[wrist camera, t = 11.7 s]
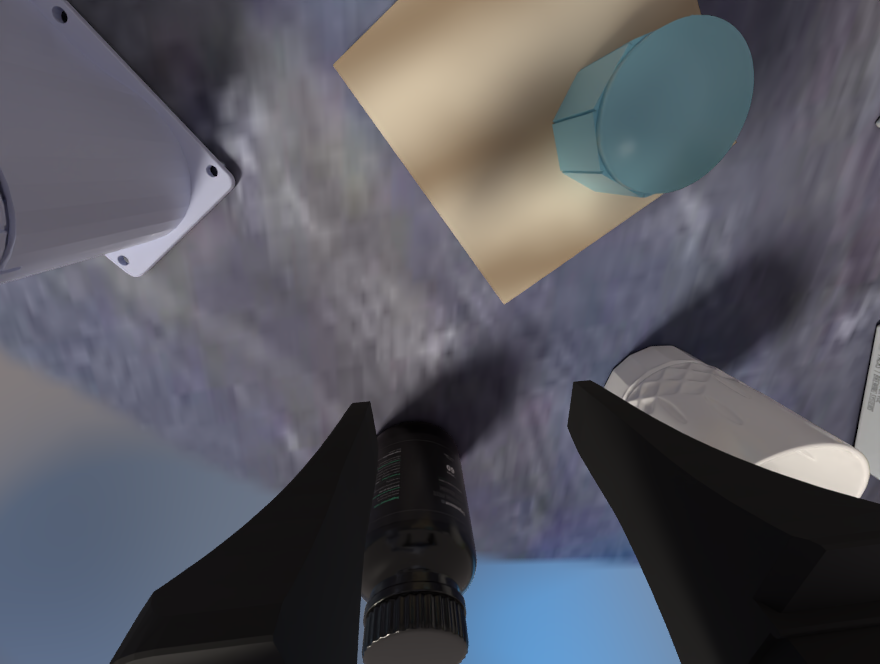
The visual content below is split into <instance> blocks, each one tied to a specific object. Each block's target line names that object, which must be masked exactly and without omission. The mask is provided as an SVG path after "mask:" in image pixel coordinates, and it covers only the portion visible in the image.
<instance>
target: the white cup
mask: <svg viewBox="0 0 880 664" xmlns="http://www.w3.org/2000/svg"><path fill="white" fill-rule="evenodd" d="M604 388H605V389H607V390H608V391H610V392H612V393H613V394H615V395H617V396H618V397H620V398H622V399H623V400H625V401H627V402H628V403H630V404H632V405H633V406H635V407H637V408H638V409H640V410H642V411H643V412H645V413H647V414H649V415H650V416H652V417H654V418H656V419H657V420H659V421H661V422H663V423H665V424H667V425H669V426H671V427H672V428H674V429H676V430H678V431H680V432H682V433H684V434H686V435H688V436H690V437H692V438H694V439H696V440H698V441H701V442H703V443H705V444H707V445H709V446H712V447H714V448H716V449H718V450H720V451H723V452H725V453H728V454H730V455H732V456H735V457H737V458H740V459H742V460H745V461H747V462H750V463H753V464H755V465H758V466H760V467H763V468H766V469H768V470H771V471H774V472H777V473H780V474H782V475H785V476H788V477H791V478H794V479H797V480H800V481H803V482H806V483H809V484H812V485H815V486H819V487H822V488H825V489H829V490H832V491H836V492H839V493H843V494H846V495H850V496H853V497H857V498H860V497H861V495H862V494H863V492H864V490H865V488H866V486H867V484H868V481H869V476H870V466H869V462H868V460H867V458H866V457H865V455H864V454H863V453H862V452H860V451H859V450H858V449H856V448H854V447H853V446H851V445H849V444H847V443H846V442H844V441H842V440H841V439H839V438H837V437H835V436H834V435H832V434H830V433H829V432H827V431H825V430H823V429H822V428H820V427H818V426H817V425H815V424H813V423H812V422H810V421H808V420H806V419H805V418H803V417H801V416H800V415H798V414H796V413H795V412H793V411H791V410H790V409H788V408H786V407H784V406H783V405H781V404H779V403H778V402H776V401H774V400H773V399H771V398H769V397H768V396H766V395H764V394H763V393H761V392H759V391H757V390H755V389H752V388H751V387H749V386H747V385H746V384H744V383H743V382H741V381H739V380H737V379H736V378H734V377H732V376H729V375H728V374H726V373H724V372H723V371H721V370H720V369H718V368H716V367H714V366H710V365H707V364H705V363H704V362H702V361H700V360H699V359H697V358H696V357H694V356H692V355H691V354H689V353H687V352H685V351H683V350H681V349H678V348H676V347H674V346H650V347H648V348H645V349H643V350H641V351H638V352H636V353H634V354H631V355H629V356H628V357H627V358H626V359H625V360H624V361H623V362H621V363H620V364H619V365H618V366H617V367H616V368H615V369H614V370H613V371H612V373H611V375H610V377H609V379H608V381H607V383H606V385H605V386H604Z"/></svg>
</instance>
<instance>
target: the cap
mask: <svg viewBox="0 0 880 664" xmlns="http://www.w3.org/2000/svg"><path fill="white" fill-rule="evenodd" d="M753 88H754V68H753V60H752V56H751V53H750V50H749V47H748V45H747V43H746V41H745V39H744V38H743V36H742V35H741V33H740V32H739V31H738V30H737V29H736V28H735V27H734V26H733V25H731V24H730V23H729V22H727V21H726V20H723V19H721V18H718V17H715V16H710V15H691V16H687V17H683V18H681V19H678V20H675V21H673V22H671V23H669V24H667V25H665V26H663V27H661V28H659V29H657V30H655V31H653V32H650V33H648V34H645V35H643V36H641V37H638V38H636V39H633V40H631V41H630V42H628V43H626V44H624V45H623V46H621V47H619V48H617V49H616V50H614V51H612V52H611V53H609V54H607V55H605V56H604V57H602V58H600V59H598V60H597V61H595V62H593V63H591V64H590V65H588V66H586V67H584V68H583V69H581V70H580V71H579V72H578V73H577V75H576V77H575V79H574V81H573V82H572V84H571V86H570V88H569V90H568V92H567V94H566V96H565V98H564V100H563V102H562V104H561V106H560V108H559V110H558V112H557V114H556V116H555V118H554V120H553V122H554V123H555V124H552V127H553V133H554V138H555V144H556V150H557V155H558V161H559V166H560V171H562V173H563V174H565V175H567V176H568V177H570V178H572V179H574V180H575V181H577V182H579V183H581V184H582V185H584V186H586V187H588V188H589V189H591V190H593V191H595V192H602V193H610V194H618V195H625V196H633V197H640V198H646V197H648V196H651V195H653V194H659V193H668V192H673V191H676V190H679V189H682V188H684V187H686V186H689V185H690V184H692V183H694V182H696V181H697V180H699V179H700V178H702V177H703V176H704V175H706V174H707V173H708V172H709V171H710V170H711V169H713V168H714V167H715V166H716V165H717V164H718V163H719V162H720V160H721V159H722V158H723V157H724V156H725V155H726V153H727V152H728V151H729V149H730V148H731V146H732V145H733V143H734V142H735V140H736V139H737V137H738V135H739V133H740V131H741V129H742V127H743V125H744V122H745V120H746V118H747V115H748V111H749V108H750V105H751V100H752V96H753Z"/></svg>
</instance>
